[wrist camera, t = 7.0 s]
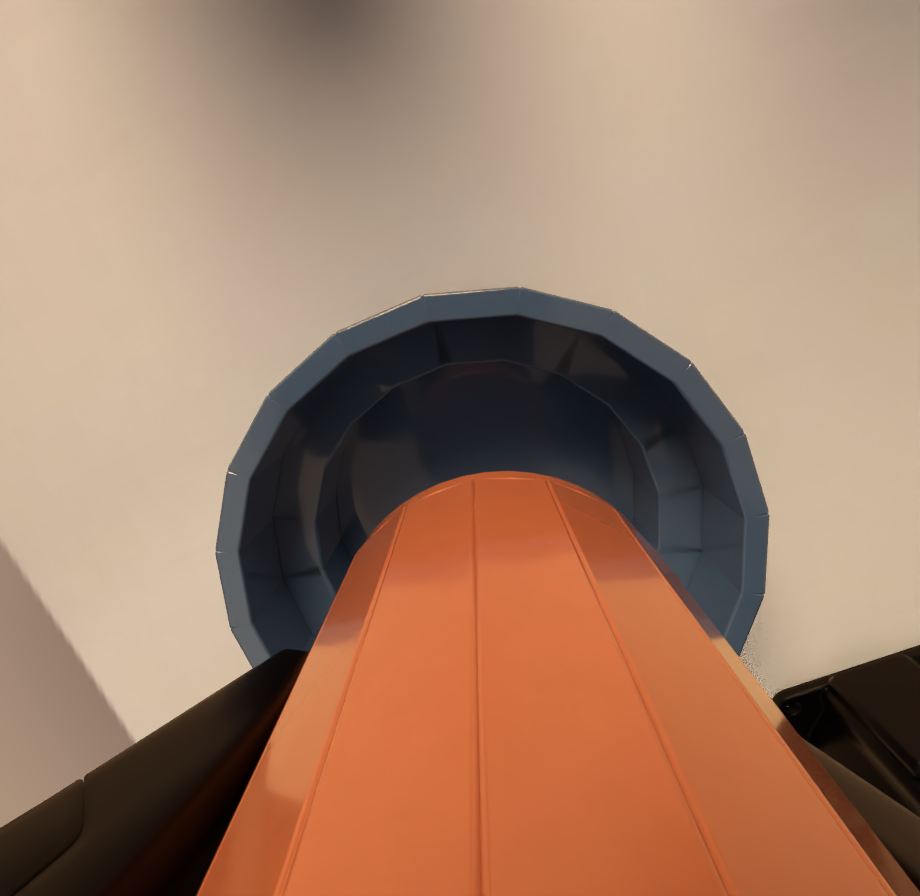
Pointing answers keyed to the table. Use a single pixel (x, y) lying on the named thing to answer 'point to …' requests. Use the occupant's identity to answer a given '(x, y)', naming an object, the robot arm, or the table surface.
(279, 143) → the table surface
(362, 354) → the bowl
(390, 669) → the cup
